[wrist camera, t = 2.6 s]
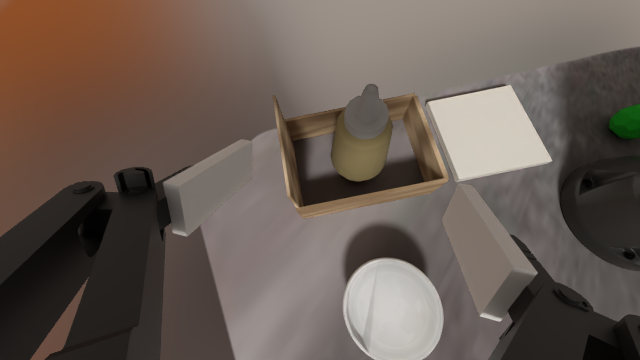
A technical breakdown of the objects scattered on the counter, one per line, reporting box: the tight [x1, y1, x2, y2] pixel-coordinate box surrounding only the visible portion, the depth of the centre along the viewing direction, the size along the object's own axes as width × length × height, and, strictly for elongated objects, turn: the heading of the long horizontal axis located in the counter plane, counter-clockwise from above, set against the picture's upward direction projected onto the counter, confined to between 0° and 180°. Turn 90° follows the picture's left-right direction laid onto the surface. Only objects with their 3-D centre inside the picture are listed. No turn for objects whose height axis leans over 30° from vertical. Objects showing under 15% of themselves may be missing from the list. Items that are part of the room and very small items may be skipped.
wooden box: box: [273, 93, 449, 219], centre depth 33 cm, size 14×20×12 cm
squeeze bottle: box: [331, 84, 393, 182], centre depth 30 cm, size 8×8×18 cm
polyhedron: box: [609, 104, 640, 140], centre depth 35 cm, size 5×5×5 cm
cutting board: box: [426, 85, 552, 182], centre depth 38 cm, size 14×14×1 cm
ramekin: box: [343, 257, 443, 360], centre depth 30 cm, size 11×11×5 cm
